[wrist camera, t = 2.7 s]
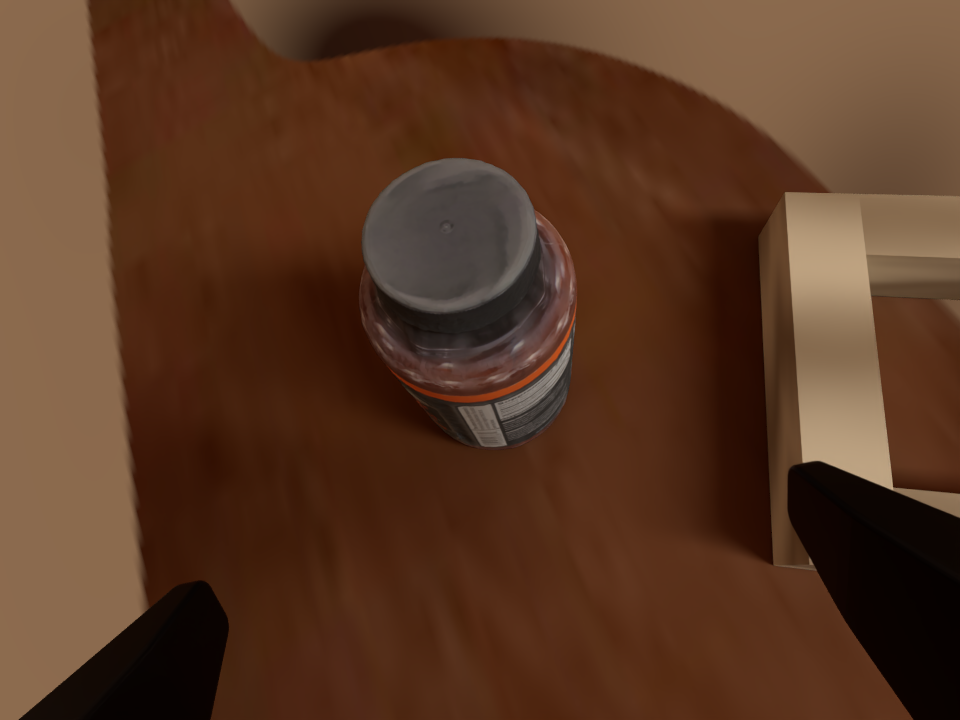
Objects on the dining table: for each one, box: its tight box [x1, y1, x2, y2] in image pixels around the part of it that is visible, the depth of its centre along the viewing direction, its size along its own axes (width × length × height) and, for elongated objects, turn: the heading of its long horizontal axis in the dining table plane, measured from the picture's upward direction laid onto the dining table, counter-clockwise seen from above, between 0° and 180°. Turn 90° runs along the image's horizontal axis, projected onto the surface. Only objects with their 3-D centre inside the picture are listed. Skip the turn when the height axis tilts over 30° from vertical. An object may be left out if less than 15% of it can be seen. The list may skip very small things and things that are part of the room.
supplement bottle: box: [359, 158, 577, 450], centre depth 18 cm, size 6×6×11 cm
